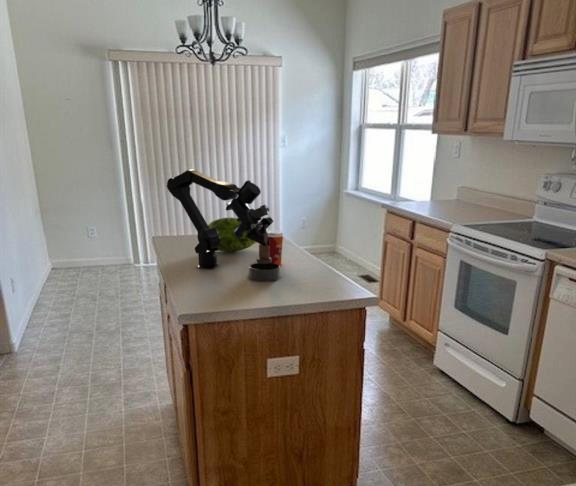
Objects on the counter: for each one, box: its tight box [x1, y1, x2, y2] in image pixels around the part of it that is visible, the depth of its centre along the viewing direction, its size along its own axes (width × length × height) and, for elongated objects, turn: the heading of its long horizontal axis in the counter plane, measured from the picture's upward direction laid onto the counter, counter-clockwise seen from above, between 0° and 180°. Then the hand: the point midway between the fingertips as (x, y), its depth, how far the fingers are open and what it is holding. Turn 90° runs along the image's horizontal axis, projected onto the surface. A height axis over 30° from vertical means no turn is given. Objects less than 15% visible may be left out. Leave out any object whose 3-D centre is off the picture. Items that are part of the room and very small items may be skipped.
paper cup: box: [266, 230, 285, 267], centre depth 221 cm, size 8×8×14 cm
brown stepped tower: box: [256, 233, 272, 264], centre depth 202 cm, size 6×6×11 cm
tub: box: [248, 262, 281, 283], centre depth 205 cm, size 12×12×4 cm
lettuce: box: [207, 216, 258, 253], centre depth 244 cm, size 15×27×16 cm, turn 112°
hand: (267, 244), depth 200 cm, fingers closed on brown stepped tower, 2 cm apart
